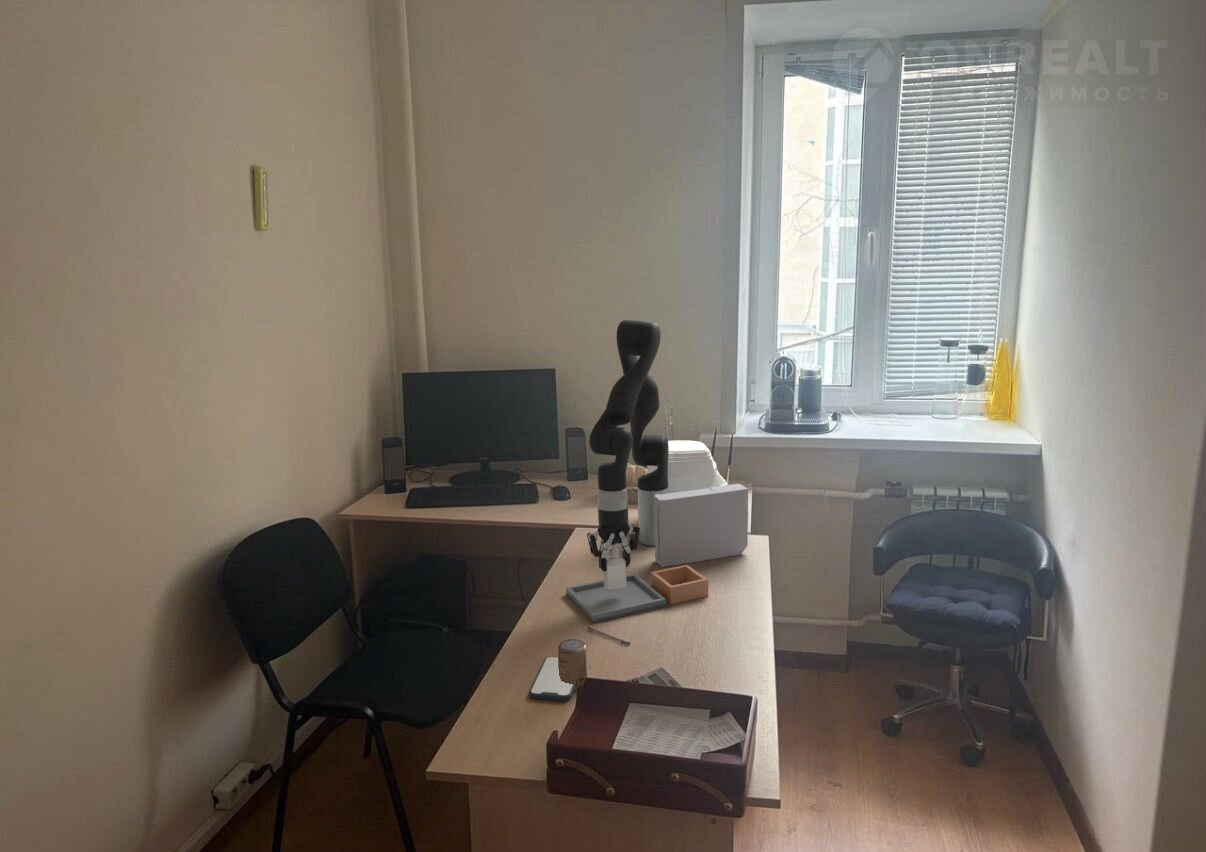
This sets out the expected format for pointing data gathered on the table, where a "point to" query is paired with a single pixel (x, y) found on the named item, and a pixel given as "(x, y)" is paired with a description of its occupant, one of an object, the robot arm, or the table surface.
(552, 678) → the phone case
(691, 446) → the paper stack
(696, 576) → the holder box
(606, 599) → the tray
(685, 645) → the table surface
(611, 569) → the eye dropper bottle
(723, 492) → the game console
